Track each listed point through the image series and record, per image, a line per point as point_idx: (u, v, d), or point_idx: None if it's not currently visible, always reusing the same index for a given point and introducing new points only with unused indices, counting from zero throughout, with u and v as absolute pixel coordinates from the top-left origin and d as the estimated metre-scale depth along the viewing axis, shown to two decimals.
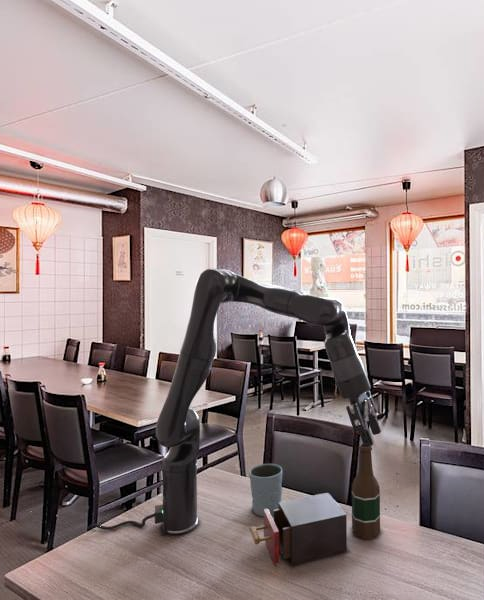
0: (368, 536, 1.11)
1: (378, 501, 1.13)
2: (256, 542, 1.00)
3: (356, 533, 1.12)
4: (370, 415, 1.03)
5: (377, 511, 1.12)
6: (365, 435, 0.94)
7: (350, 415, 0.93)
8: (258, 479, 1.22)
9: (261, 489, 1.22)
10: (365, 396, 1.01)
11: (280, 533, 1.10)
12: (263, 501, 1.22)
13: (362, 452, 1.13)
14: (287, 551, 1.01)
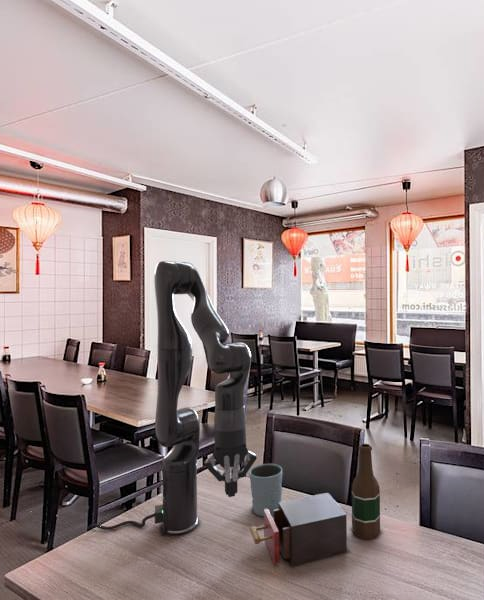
0: (368, 536, 1.11)
1: (378, 501, 1.13)
2: (256, 542, 1.00)
3: (356, 533, 1.12)
4: (232, 475, 1.01)
5: (377, 511, 1.12)
6: (225, 485, 1.00)
7: None
8: (258, 479, 1.22)
9: (261, 489, 1.22)
10: (240, 450, 1.01)
11: (280, 533, 1.10)
12: (263, 501, 1.22)
13: (362, 452, 1.13)
14: (287, 551, 1.01)
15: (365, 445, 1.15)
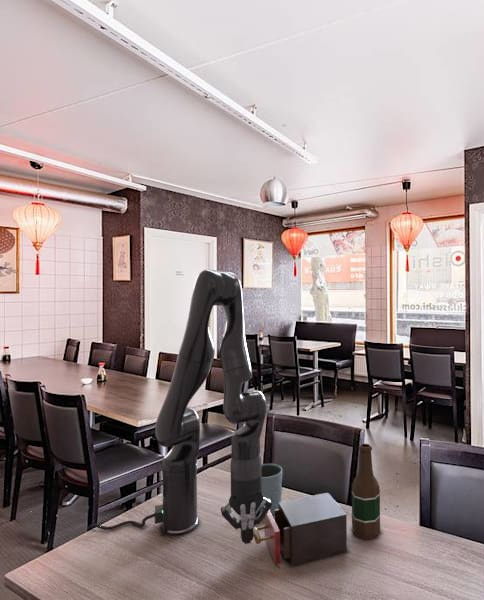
0: (368, 536, 1.11)
1: (378, 501, 1.13)
2: (257, 542, 1.00)
3: (356, 533, 1.12)
4: (248, 522, 1.02)
5: (377, 511, 1.12)
6: (241, 532, 1.02)
7: None
8: None
9: None
10: (256, 498, 1.02)
11: (281, 533, 1.10)
12: None
13: (362, 452, 1.13)
14: (288, 551, 1.01)
15: (365, 445, 1.15)
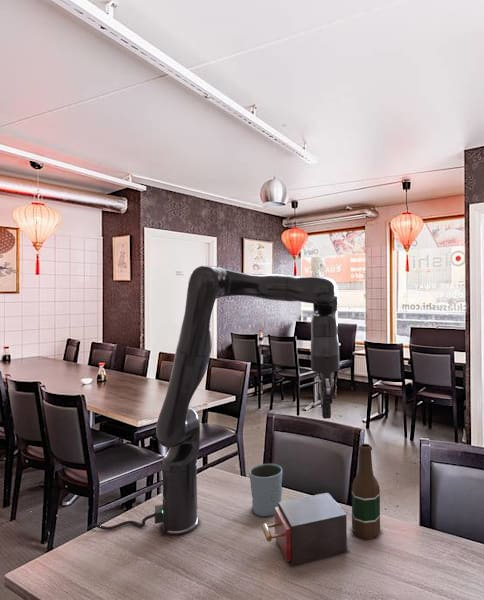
0: (368, 536, 1.11)
1: (378, 501, 1.13)
2: (268, 539, 1.01)
3: (356, 533, 1.12)
4: None
5: (377, 511, 1.12)
6: (328, 408, 1.08)
7: (325, 395, 1.04)
8: (258, 479, 1.22)
9: (261, 489, 1.22)
10: None
11: None
12: (263, 501, 1.22)
13: (362, 452, 1.13)
14: None
15: (365, 445, 1.15)
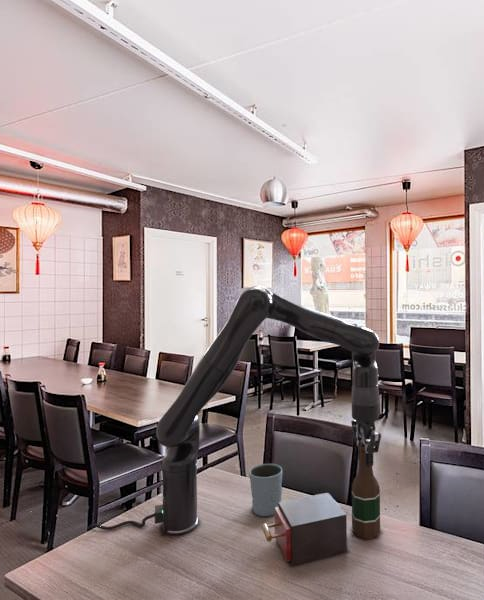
0: (368, 536, 1.11)
1: (378, 501, 1.13)
2: (268, 539, 1.01)
3: (356, 533, 1.12)
4: (361, 443, 1.16)
5: (377, 511, 1.12)
6: (372, 457, 1.11)
7: (373, 442, 1.08)
8: (258, 479, 1.22)
9: (261, 489, 1.22)
10: None
11: None
12: (263, 501, 1.22)
13: (362, 452, 1.13)
14: None
15: None
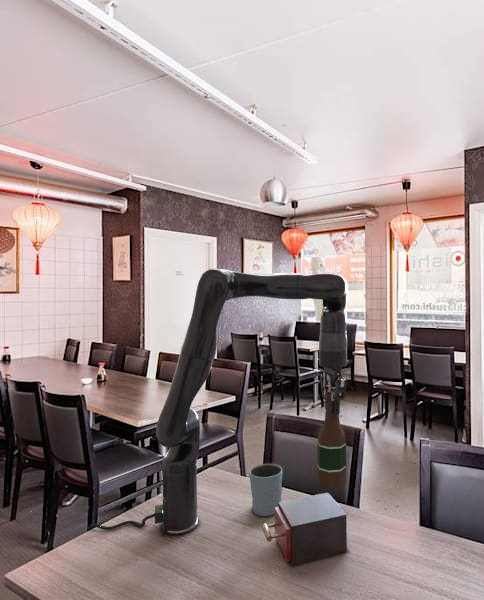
0: (332, 485, 1.08)
1: (344, 451, 1.09)
2: (268, 539, 1.01)
3: (320, 483, 1.09)
4: (329, 392, 1.13)
5: (343, 461, 1.09)
6: (338, 404, 1.08)
7: (339, 388, 1.05)
8: (258, 479, 1.22)
9: (261, 489, 1.22)
10: None
11: None
12: (263, 501, 1.22)
13: (328, 400, 1.09)
14: None
15: None
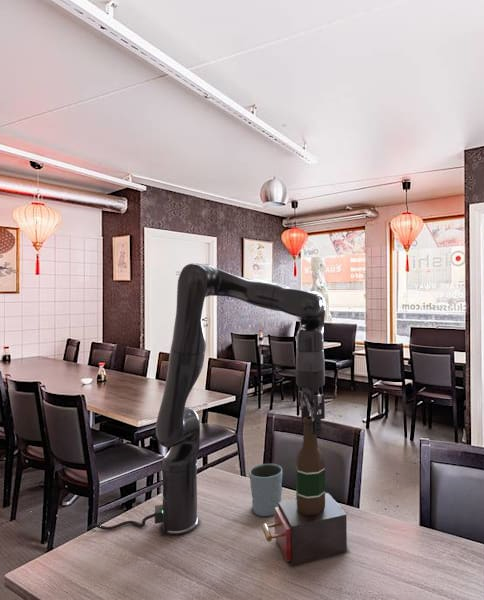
0: (311, 512, 1.05)
1: (323, 476, 1.07)
2: (268, 539, 1.01)
3: (299, 509, 1.06)
4: (305, 406, 1.12)
5: (322, 486, 1.07)
6: (319, 424, 1.03)
7: (316, 404, 1.01)
8: (258, 479, 1.22)
9: (261, 489, 1.22)
10: None
11: None
12: (263, 501, 1.22)
13: (306, 424, 1.07)
14: None
15: (310, 417, 1.09)
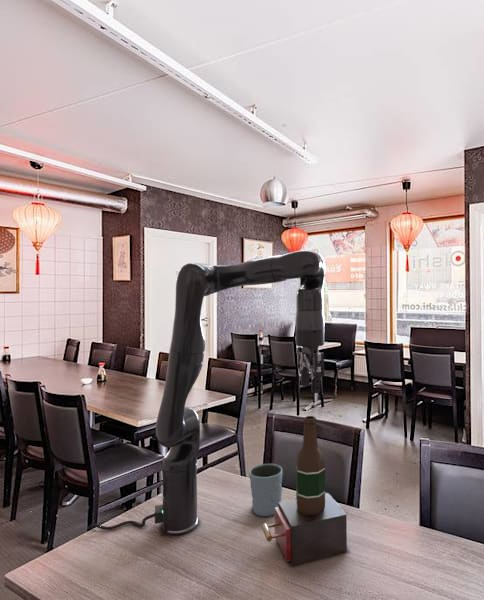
0: (311, 512, 1.05)
1: (323, 476, 1.07)
2: (268, 539, 1.01)
3: (299, 509, 1.06)
4: (304, 368, 1.12)
5: (322, 486, 1.07)
6: (318, 382, 1.03)
7: (316, 361, 1.01)
8: (258, 479, 1.22)
9: (261, 489, 1.22)
10: None
11: None
12: (263, 501, 1.22)
13: (306, 424, 1.07)
14: None
15: (310, 417, 1.09)
